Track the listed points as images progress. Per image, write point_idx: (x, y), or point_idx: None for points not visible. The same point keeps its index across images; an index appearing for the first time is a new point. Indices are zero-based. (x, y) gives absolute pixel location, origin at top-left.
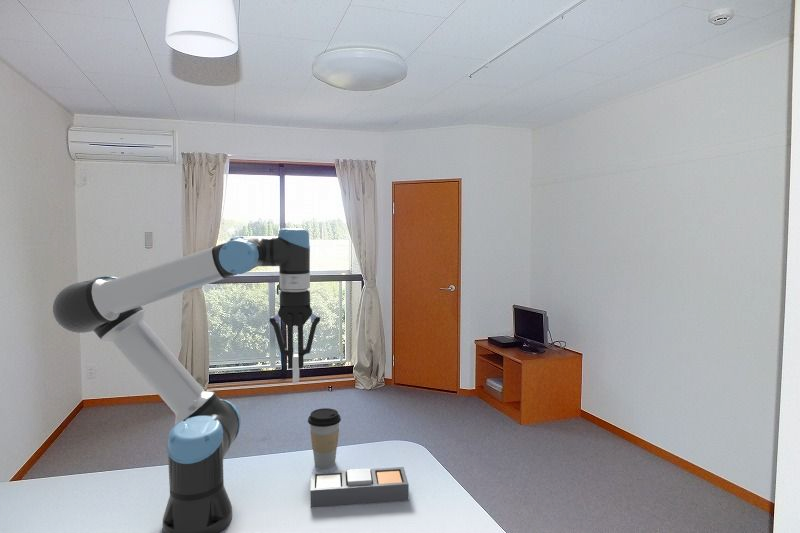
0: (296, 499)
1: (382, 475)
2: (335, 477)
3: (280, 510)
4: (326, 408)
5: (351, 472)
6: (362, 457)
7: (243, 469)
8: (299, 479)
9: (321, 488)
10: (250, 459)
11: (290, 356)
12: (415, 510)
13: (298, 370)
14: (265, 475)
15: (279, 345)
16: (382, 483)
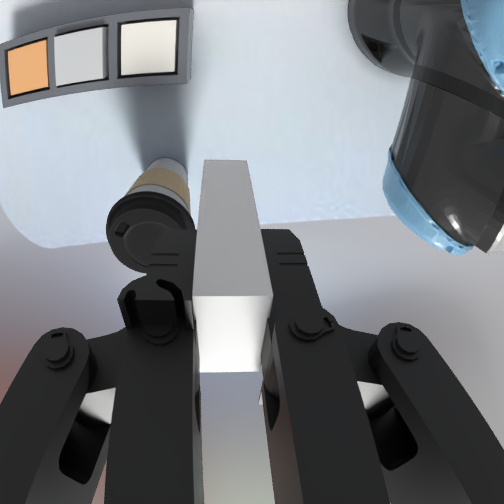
0: (223, 43)
1: (38, 74)
2: (131, 62)
3: (256, 11)
4: (145, 271)
5: (93, 65)
6: (94, 193)
7: (330, 176)
8: (217, 118)
9: (164, 13)
10: (316, 211)
11: (299, 304)
12: (11, 16)
13: (200, 199)
14: (289, 145)
15: (471, 414)
16: (39, 43)
